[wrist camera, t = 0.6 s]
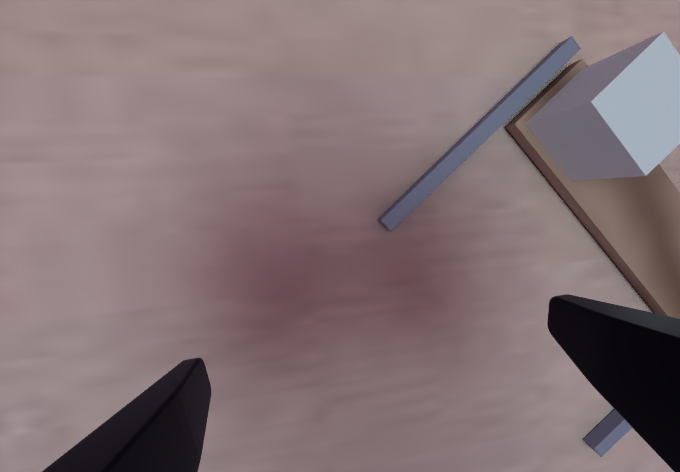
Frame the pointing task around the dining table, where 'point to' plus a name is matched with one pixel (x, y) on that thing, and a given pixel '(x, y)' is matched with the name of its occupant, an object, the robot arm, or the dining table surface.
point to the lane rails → (614, 422)
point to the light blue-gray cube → (615, 114)
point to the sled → (619, 212)
